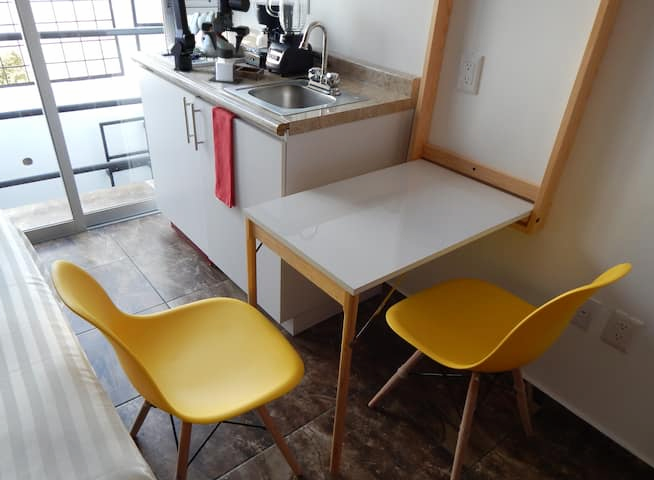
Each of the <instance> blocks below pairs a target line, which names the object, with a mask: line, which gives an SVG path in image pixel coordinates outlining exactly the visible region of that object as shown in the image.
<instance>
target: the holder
mask: <svg viewBox="0 0 654 480" xmlns="http://www.w3.org/2000/svg"><path fill="white" fill-rule="evenodd" d="M214 75H215V76H216V66H215V67H214ZM263 77H265V68H261V67H253V66H248V65H247V66H246V65H239V64H236V78H239V79H243V80H248V81H249V80H250V81H259V80H261V79H262V78H263Z"/></svg>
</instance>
